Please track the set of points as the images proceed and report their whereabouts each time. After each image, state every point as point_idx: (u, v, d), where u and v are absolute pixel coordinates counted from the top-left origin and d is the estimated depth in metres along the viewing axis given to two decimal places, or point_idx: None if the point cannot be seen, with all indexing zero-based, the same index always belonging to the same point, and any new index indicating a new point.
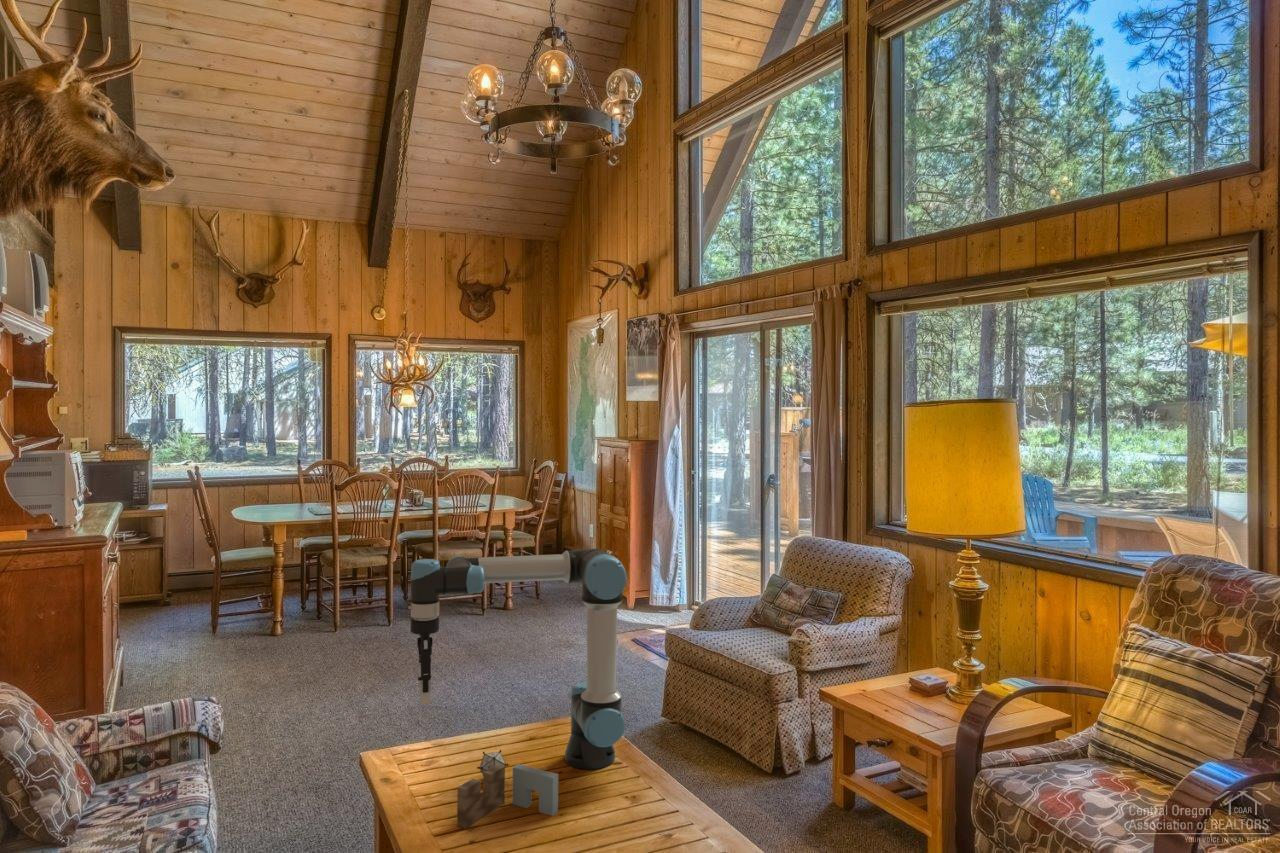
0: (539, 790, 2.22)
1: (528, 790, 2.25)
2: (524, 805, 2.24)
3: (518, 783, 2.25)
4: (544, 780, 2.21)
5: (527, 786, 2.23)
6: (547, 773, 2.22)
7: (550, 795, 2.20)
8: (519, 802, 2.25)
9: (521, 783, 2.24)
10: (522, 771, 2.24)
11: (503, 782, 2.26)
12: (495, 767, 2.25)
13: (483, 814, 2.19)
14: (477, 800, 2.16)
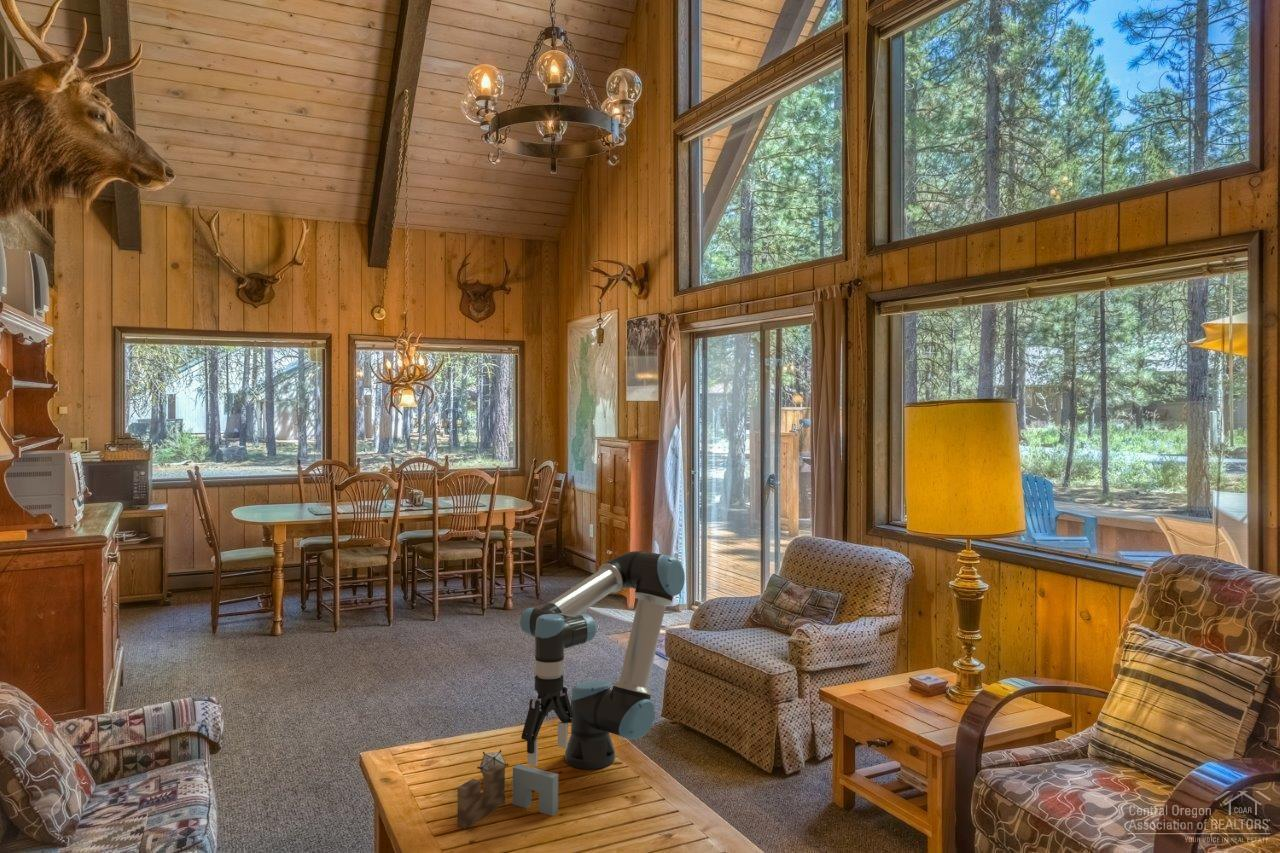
0: (539, 790, 2.22)
1: (528, 790, 2.25)
2: (524, 805, 2.24)
3: (518, 783, 2.25)
4: (544, 780, 2.21)
5: (527, 786, 2.23)
6: (547, 773, 2.22)
7: (550, 795, 2.20)
8: (519, 802, 2.25)
9: (521, 783, 2.24)
10: (522, 771, 2.24)
11: (503, 782, 2.26)
12: (495, 767, 2.25)
13: (483, 814, 2.19)
14: (477, 800, 2.16)
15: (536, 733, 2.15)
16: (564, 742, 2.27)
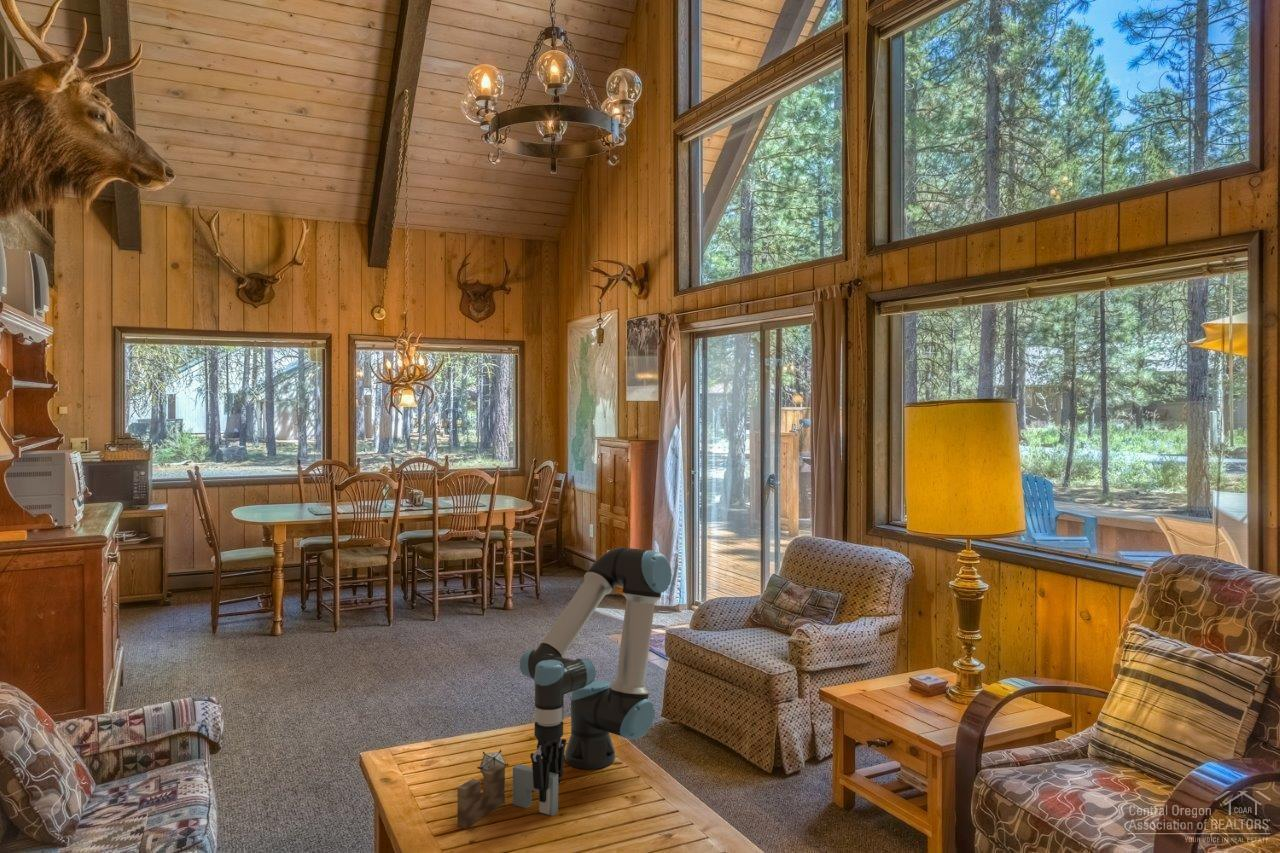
0: None
1: (528, 790, 2.25)
2: (524, 805, 2.24)
3: (518, 783, 2.25)
4: None
5: (527, 786, 2.23)
6: None
7: (550, 795, 2.20)
8: (519, 802, 2.25)
9: (521, 783, 2.24)
10: (522, 771, 2.24)
11: (503, 782, 2.26)
12: (495, 767, 2.25)
13: (483, 814, 2.19)
14: (477, 800, 2.16)
15: (546, 782, 2.19)
16: None
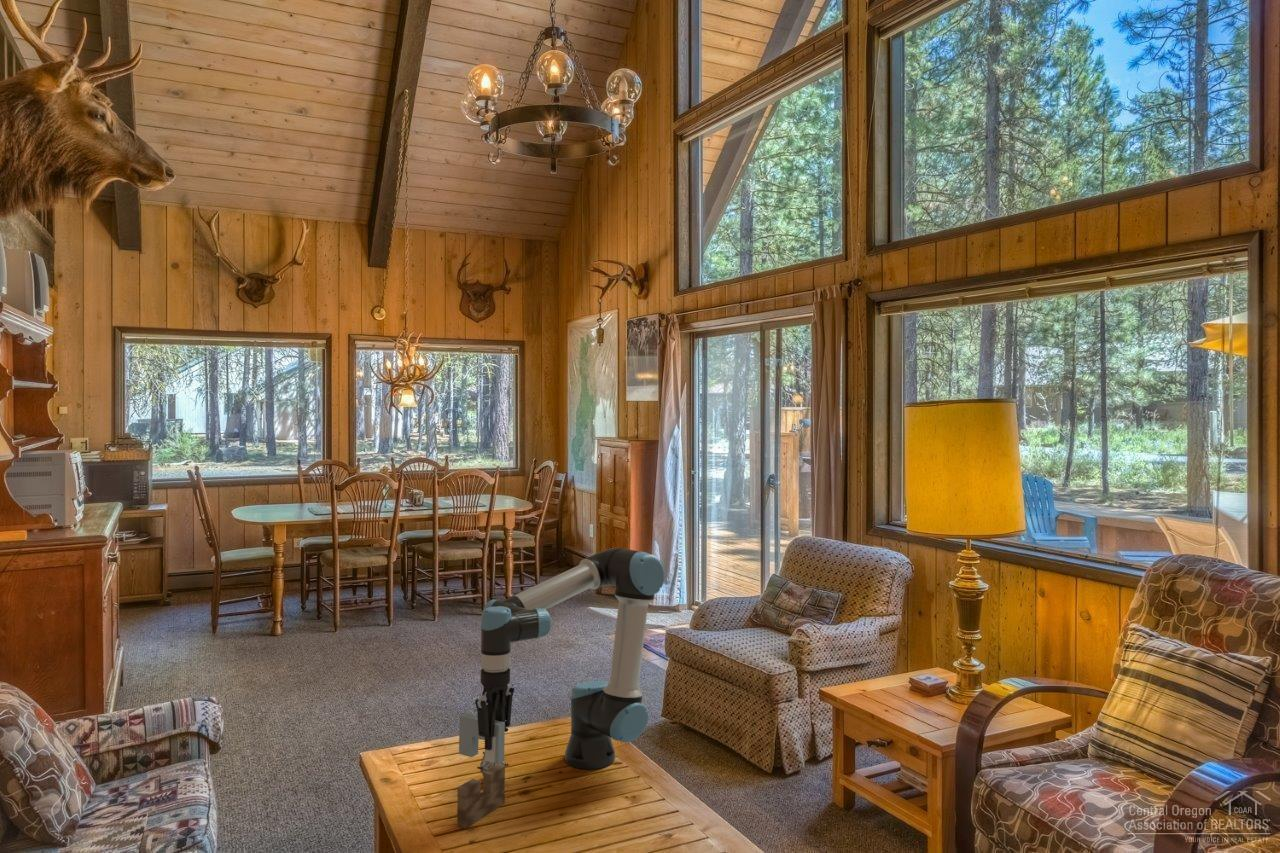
0: None
1: (475, 739, 2.20)
2: (470, 754, 2.20)
3: (464, 732, 2.21)
4: None
5: (473, 735, 2.19)
6: None
7: None
8: (466, 752, 2.20)
9: (467, 732, 2.20)
10: (469, 719, 2.20)
11: (503, 782, 2.26)
12: (495, 767, 2.25)
13: (483, 814, 2.19)
14: (477, 800, 2.16)
15: (492, 730, 2.15)
16: None
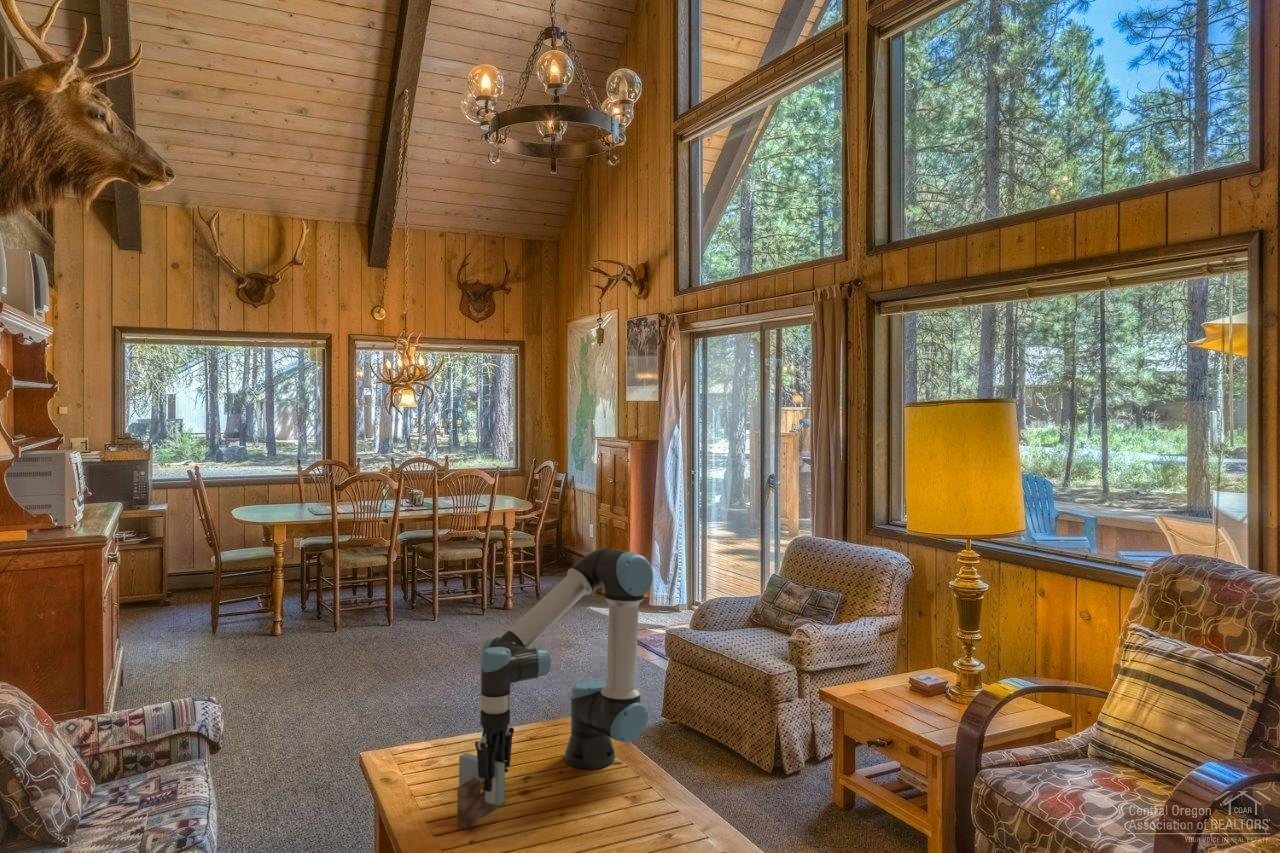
0: None
1: None
2: None
3: (464, 772, 2.21)
4: None
5: (473, 775, 2.19)
6: None
7: None
8: None
9: (467, 772, 2.20)
10: (469, 760, 2.20)
11: None
12: None
13: (483, 814, 2.19)
14: (477, 800, 2.16)
15: (492, 771, 2.15)
16: None
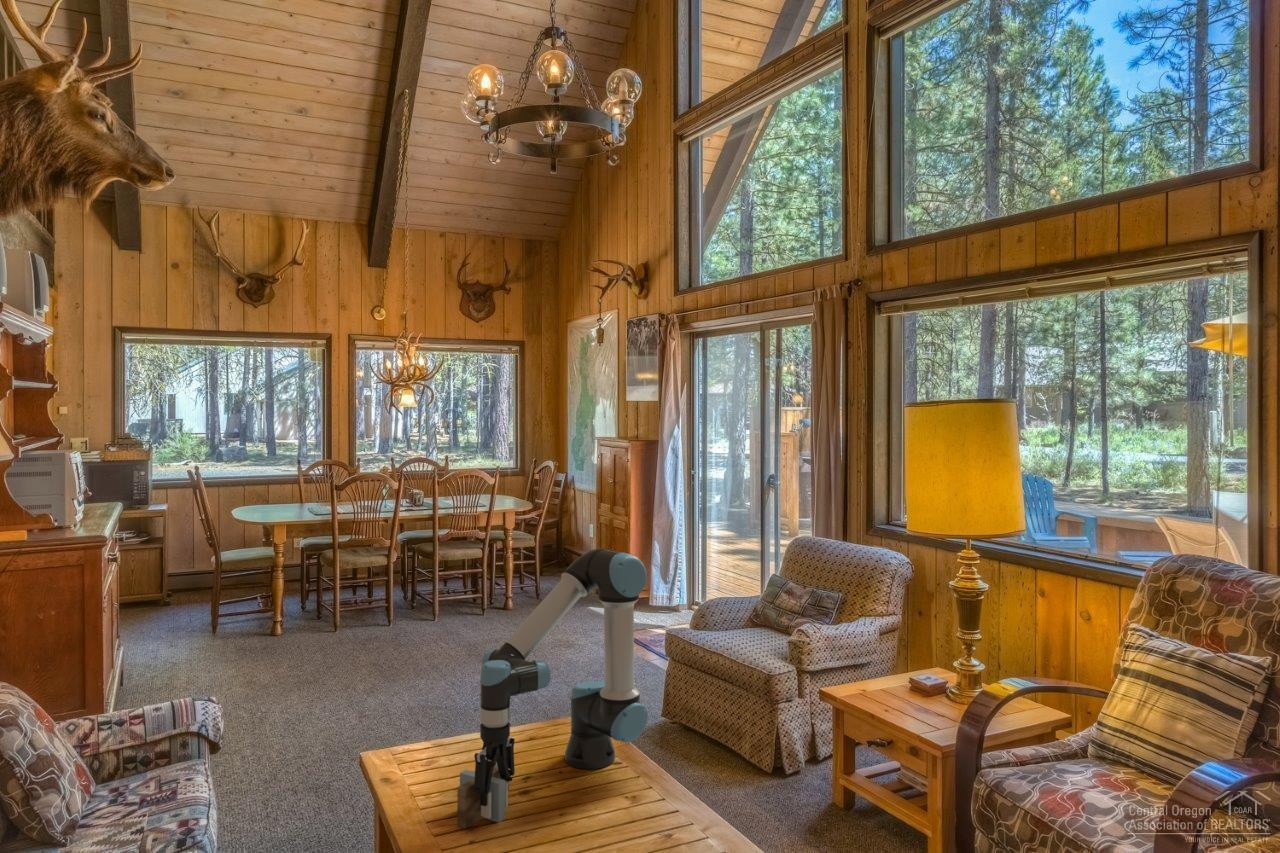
0: None
1: None
2: None
3: None
4: (491, 786, 2.17)
5: None
6: (494, 779, 2.18)
7: (496, 801, 2.16)
8: None
9: None
10: (469, 777, 2.20)
11: None
12: (495, 767, 2.25)
13: None
14: (477, 800, 2.16)
15: (488, 785, 2.14)
16: None
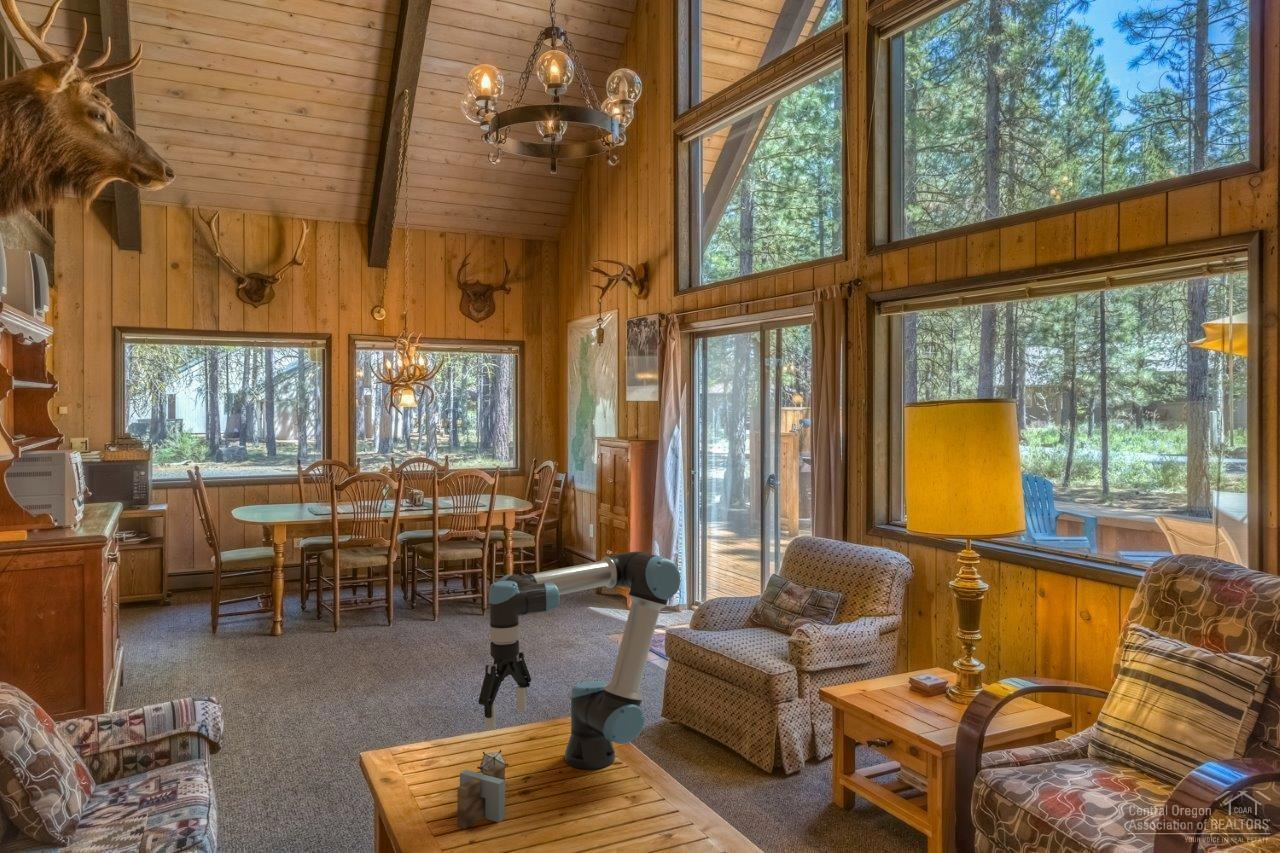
0: (485, 796, 2.18)
1: None
2: None
3: None
4: (491, 786, 2.17)
5: None
6: (494, 779, 2.18)
7: (496, 801, 2.16)
8: None
9: None
10: (469, 777, 2.20)
11: None
12: (495, 767, 2.25)
13: (483, 814, 2.19)
14: (477, 800, 2.16)
15: (493, 698, 2.17)
16: (522, 706, 2.29)
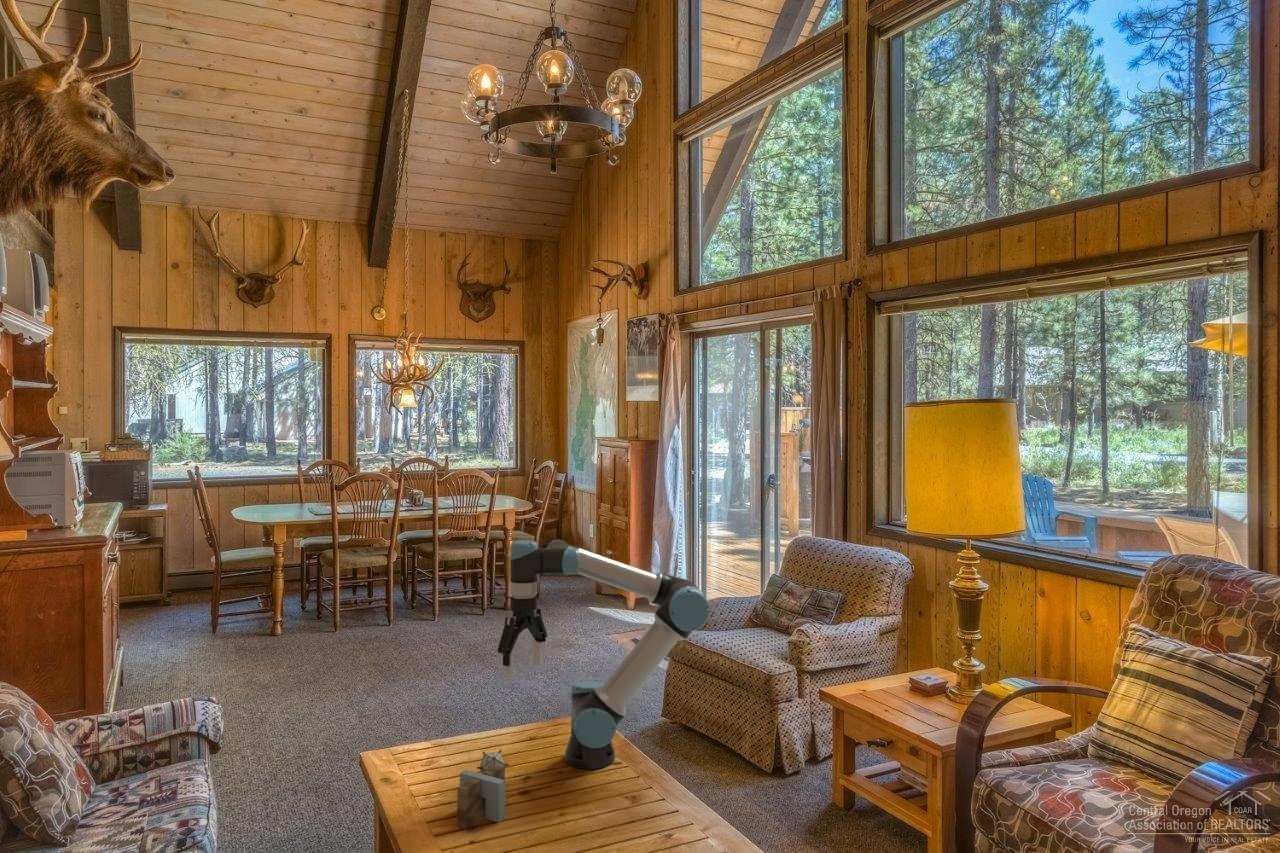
0: (485, 796, 2.18)
1: None
2: None
3: None
4: (491, 786, 2.17)
5: None
6: (494, 779, 2.18)
7: (496, 801, 2.16)
8: None
9: None
10: (469, 777, 2.20)
11: None
12: (495, 767, 2.25)
13: (483, 814, 2.19)
14: (477, 800, 2.16)
15: (511, 647, 2.32)
16: (538, 659, 2.45)
